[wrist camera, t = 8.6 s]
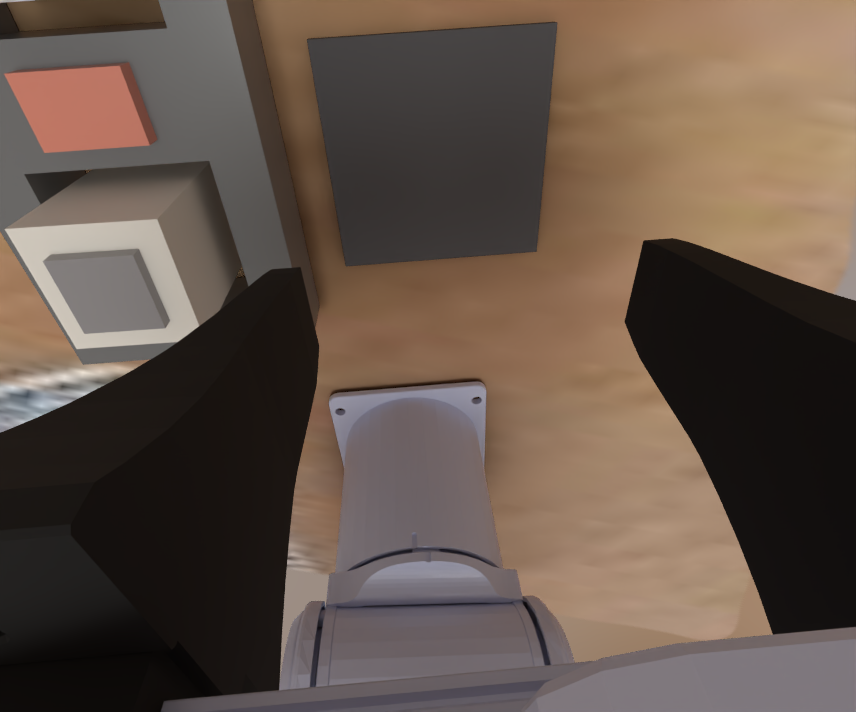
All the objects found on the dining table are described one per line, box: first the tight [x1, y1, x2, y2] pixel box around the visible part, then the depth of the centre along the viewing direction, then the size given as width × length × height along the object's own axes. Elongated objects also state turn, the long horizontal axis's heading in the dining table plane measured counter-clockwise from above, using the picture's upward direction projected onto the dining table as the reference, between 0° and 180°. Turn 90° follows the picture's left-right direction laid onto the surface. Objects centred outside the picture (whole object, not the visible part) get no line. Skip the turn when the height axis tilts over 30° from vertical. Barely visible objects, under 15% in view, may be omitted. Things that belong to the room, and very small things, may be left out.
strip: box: [0, 0, 319, 365], centre depth 15 cm, size 21×9×6 cm, turn 3°
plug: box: [5, 161, 242, 349], centre depth 17 cm, size 4×4×6 cm
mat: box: [307, 22, 557, 266], centre depth 18 cm, size 8×8×1 cm
